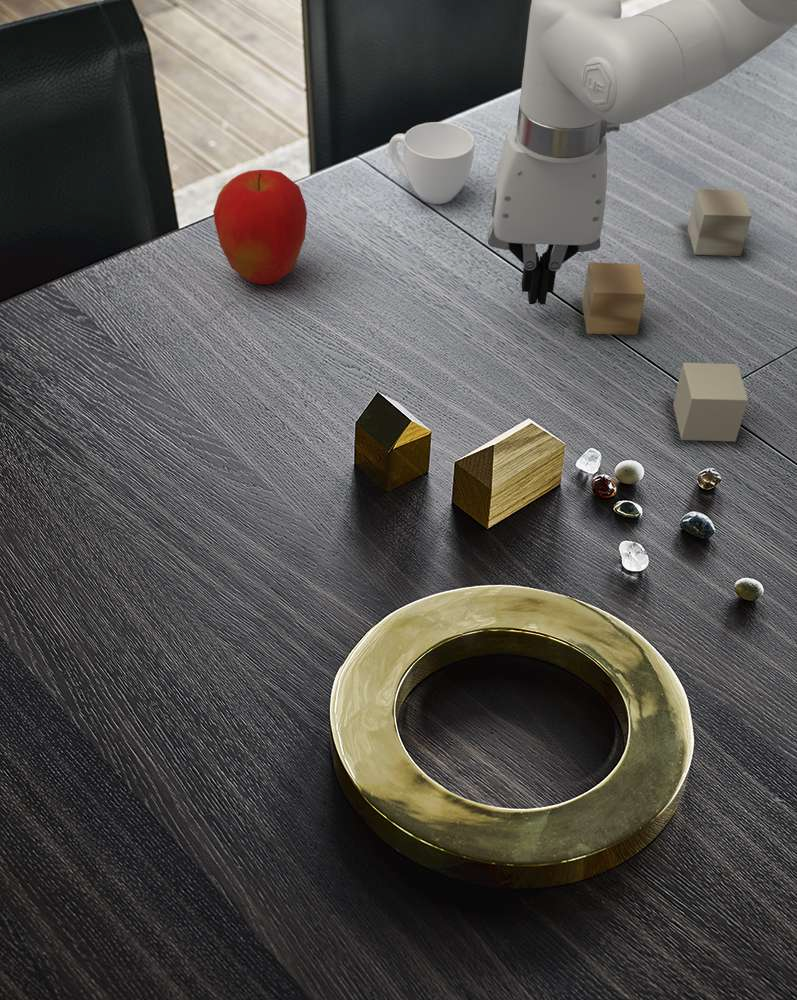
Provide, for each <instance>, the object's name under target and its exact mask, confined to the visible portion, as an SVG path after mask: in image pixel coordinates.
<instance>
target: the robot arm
mask: <svg viewBox="0 0 797 1000" xmlns="http://www.w3.org/2000/svg"><path fill="white" fill-rule="evenodd" d="M622 10H623V9H622V2H621V0H531V3H530V9H529V15H528V24H527V25H528V26H527V35H526V42H525V43H526V44H525V52H524V61H523V70H522V80H521V88H520V96H519V105H518V114H517V123H516V126H514V127H511V128H510V129H509V130H508V131H507V134H506V136H505V139H504V142H503V145H502V148H501V152H500V157H499V161H498V165H497V170H496V177H495V182H494V188H493V195H492V201H491V202H492V204H491V216H492V218H493V220H492V221H491V224H490V227H489V229H488V232H487V244H488V246H490V247H492V248H495V249H498V250H499V249H500V250H503V251H510V253H511V254H513V256H514V257H515V258H516V259H518V260H519V262H521V264H523V268H522V277H521V292H522V293H527V299H528V305H535V304H539V305H540V306H546V303H547V296H548V294H549V293H551V294H553V293H554V288H555V280H556V275H557V272H558V271H559V270H560V269H561V268H562V265H563V264H564V263H565V262H567V261H568V260H569V259H571V258H572V257H574V256H575V255H576V254H578V253H586V252H591V251H597V250H599V249H600V248H601V234H602V229H603V225H604V217H605V207H606V196H607V186H608V185H607V184H608V140H607V136H606V134H610V133H612V132H615V133H617V132H620V127H621V125H626V124H631V123H634V122H636V121H638V120H641V119H643V118H646V117H647V116H649V115H651V114H653V113H656V112H657V111H660V110H662V109H664V108H666V107H668V106H669V105H670V104H674V103H675V102H678V101H680V100H682V99H684V98H686V97H688V96H690V95H692V94H694V93H697V92H699V91H701V90H703V89H705V88H707V87H710V86H711V85H713V84H715V83H716V82H719V81H720V80H721V79H723V78H724V77H726V76H727V75H730V74H731V73H732V72H734V71H735V70H737V69H738V68H739V67H741V66H742V65H743V64H745V63H746V62H747V61H749V60H751V59H752V58H754V57H755V56H756V55H758V54H760V53H761V52H762V51H764V50H765V49H766V48H768V47H769V46H771V45H772V44H773V43H775V42H776V41H777V40H779V39H780V38H781V37H783V36H784V35H785V34H786V33H788V31H790V30H791V29H792V28H793V27H795V26H796V25H797V0H669V1H667V2H664V3H663V2H662V3H661V4H658V5H656V6H653V7H650V8H648V9H646V10H643V11H641V12H639V13H637V14H634V15H632V16H624V17H622V13H623V11H622ZM536 245H547V246H546V249H545V251H544V252H542V253H541V255H540V256H539V252H538V251H537V246H536Z"/></svg>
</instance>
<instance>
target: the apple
mask: <svg viewBox="0 0 797 1000" xmlns="http://www.w3.org/2000/svg"><path fill="white" fill-rule="evenodd" d="M307 211H308V210H307V205H306V202H305V198H304V196H303V193H302V191H301V189H300V186H299V185H298V184H297V183H296V182H294V181H293V180H292V179H290V177H288V176H286V175H285V173H283V172H282V171H277V170H274V169H254V170H248V171H245V172H242V173H239V174H238V175H236V176H234V177H233V178H231V179H230V180H229V181H228V182H227V183H226V184H225V185H224V186H223V187H222V188H221V190H220V192H219V193H218V195H217V198H216V201H215V204H214V208H213V220H214V225H215V229H216V233H217V236H218V241H219V246H220V247H221V249H222V251H223V254H224V255H225V258H226V260H227V262H228V263H229V266H230V267H231V269H232V270H233V271H234V272H235V273H237V275H239V276H241V277H242V278H244V279H246V280H247V281H249V282H251V283H252V284H254V285H255V284H256V285H262V286H263V285H264V286H265V285H271V284H275V283H276V282H279V281H280V280H281V279H283V278H284V277H285V276H286V275H288V274H289V273H291V272H292V271H293V270H294V268H295V266H296V264H297V260H298V258H299V255H300V252H301V250H302V247H303V245H304V241H305V239H306V229H307V219H308V212H307Z"/></svg>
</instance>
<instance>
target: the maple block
mask: <svg viewBox="0 0 797 1000" xmlns="http://www.w3.org/2000/svg"><path fill="white" fill-rule="evenodd" d="M585 277H586V278H585V283H584V288H583V295H582V301H581V306H582V311H583V318H584V325H585V330H586V334H588V335H591V334H592V335H619V336H621V335H623V336H624V335H626V336H637V335H638V332H639V328H640V323H641V319H642V313H643V308H644V304H645V299H646V290H645V285H644V281H643V276H642V272H641V267H640V264H639V263H614V262H613V263H612V262H611V263H610V262H588V265H587V272H586V276H585Z"/></svg>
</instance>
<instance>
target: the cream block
mask: <svg viewBox="0 0 797 1000" xmlns="http://www.w3.org/2000/svg"><path fill="white" fill-rule="evenodd" d="M745 387H746V386H745V384H744V381H743V377H742V374H741V371H740V367H739V364H738V363H710V362H709V363H708V362H707V363H706V362H705V363H703V362H683V363H682V366H681V371H680V374H679V379H678V382H677V387H676V389H675V395H674V398H673V402H672V406H673V410H674V415H675V419H676V423H677V428H678V432H679V437H680V440H681V441H699V442H701V441H702V442H734V443H735V442H736V441H737V439H738V435H739V432H740V429H741V426H742V422H743V418H744V415H745V412H746V408H747V406H748V402H749V397H748V394H747V390H746V388H745Z"/></svg>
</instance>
